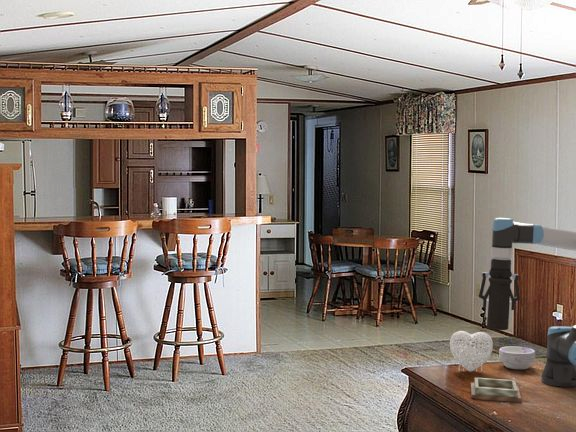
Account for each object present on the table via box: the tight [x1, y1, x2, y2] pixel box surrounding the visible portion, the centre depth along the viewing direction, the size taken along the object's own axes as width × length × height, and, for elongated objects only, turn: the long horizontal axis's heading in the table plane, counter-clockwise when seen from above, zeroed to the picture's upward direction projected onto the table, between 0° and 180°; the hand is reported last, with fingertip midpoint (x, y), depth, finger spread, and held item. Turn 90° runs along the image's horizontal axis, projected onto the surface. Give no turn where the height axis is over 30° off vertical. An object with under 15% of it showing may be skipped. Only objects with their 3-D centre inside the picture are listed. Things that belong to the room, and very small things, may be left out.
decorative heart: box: [449, 330, 494, 373], centre depth 364 cm, size 18×11×17 cm, turn 81°
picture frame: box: [470, 377, 522, 403], centre depth 329 cm, size 18×18×4 cm
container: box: [486, 276, 513, 331], centre depth 328 cm, size 9×9×20 cm
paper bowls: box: [498, 345, 536, 370], centre depth 374 cm, size 15×15×8 cm
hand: (498, 317), depth 328 cm, fingers closed on container, 8 cm apart
